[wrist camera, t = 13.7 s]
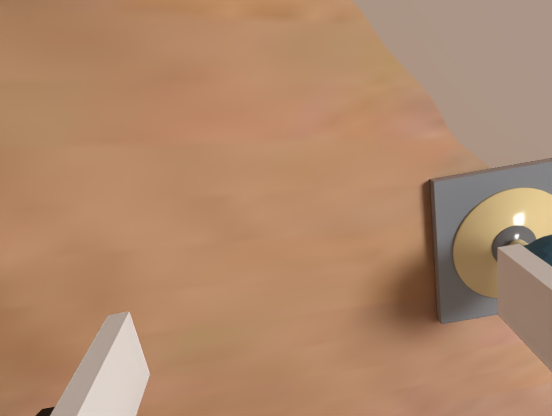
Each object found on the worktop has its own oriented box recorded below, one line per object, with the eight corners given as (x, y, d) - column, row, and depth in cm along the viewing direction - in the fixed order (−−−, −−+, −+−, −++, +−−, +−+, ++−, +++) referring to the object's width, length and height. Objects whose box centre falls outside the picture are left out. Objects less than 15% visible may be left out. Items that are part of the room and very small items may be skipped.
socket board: (430, 179, 42) (436, 183, 41) (583, 152, 42) (595, 155, 40) (437, 318, 47) (443, 326, 46) (574, 295, 47) (584, 302, 46)
